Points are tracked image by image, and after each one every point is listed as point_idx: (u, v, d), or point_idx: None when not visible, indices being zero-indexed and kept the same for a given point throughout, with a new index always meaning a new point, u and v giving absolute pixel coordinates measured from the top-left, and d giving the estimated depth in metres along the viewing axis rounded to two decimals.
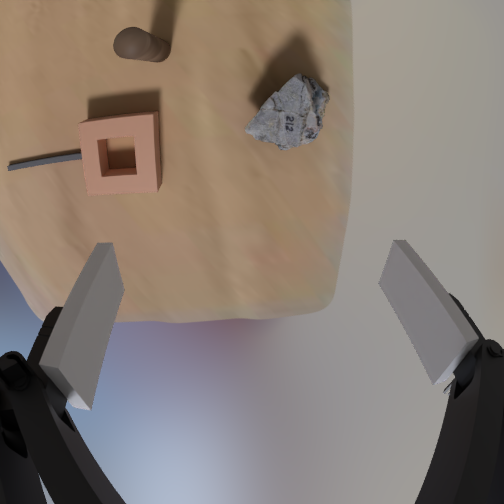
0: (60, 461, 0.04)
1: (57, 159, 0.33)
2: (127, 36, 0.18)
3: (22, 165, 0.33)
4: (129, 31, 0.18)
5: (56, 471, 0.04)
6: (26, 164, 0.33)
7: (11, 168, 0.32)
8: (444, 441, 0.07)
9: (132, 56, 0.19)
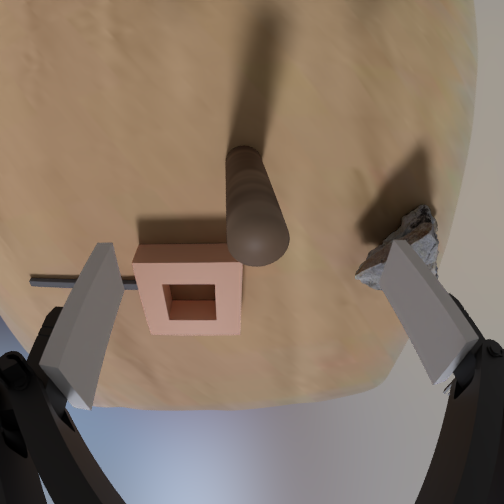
0: (60, 461, 0.04)
1: None
2: (254, 230, 0.14)
3: (50, 284, 0.29)
4: (258, 221, 0.14)
5: (56, 471, 0.04)
6: (55, 284, 0.29)
7: (35, 284, 0.29)
8: (444, 441, 0.07)
9: (262, 264, 0.15)
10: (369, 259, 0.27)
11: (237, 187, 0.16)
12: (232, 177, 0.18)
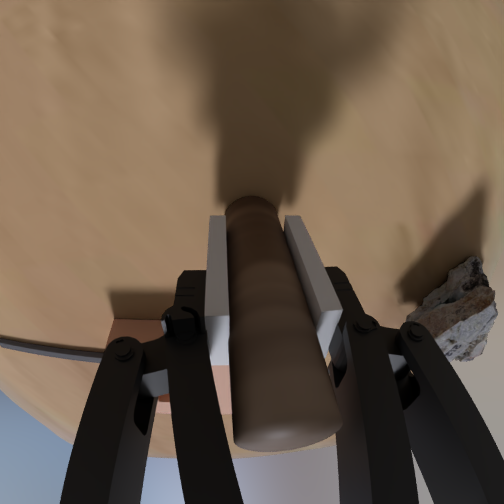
0: (206, 425, 0.06)
1: (75, 357, 0.22)
2: (284, 429, 0.07)
3: (20, 349, 0.21)
4: (293, 422, 0.06)
5: (197, 433, 0.06)
6: (26, 349, 0.21)
7: (5, 346, 0.21)
8: (341, 439, 0.07)
9: (291, 448, 0.08)
10: None
11: (248, 314, 0.09)
12: (236, 275, 0.11)
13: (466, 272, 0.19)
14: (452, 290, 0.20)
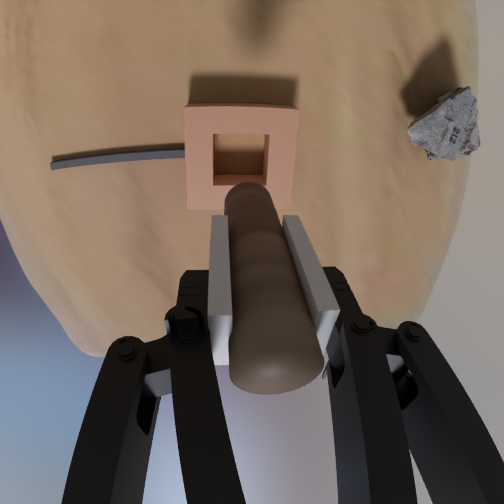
0: (209, 424, 0.06)
1: (135, 156, 0.27)
2: (273, 362, 0.08)
3: (74, 163, 0.26)
4: (280, 352, 0.08)
5: (200, 433, 0.06)
6: (81, 161, 0.26)
7: (56, 166, 0.26)
8: (339, 439, 0.07)
9: (281, 391, 0.10)
10: (418, 118, 0.24)
11: (243, 270, 0.11)
12: (234, 243, 0.13)
13: (449, 93, 0.24)
14: (442, 103, 0.24)
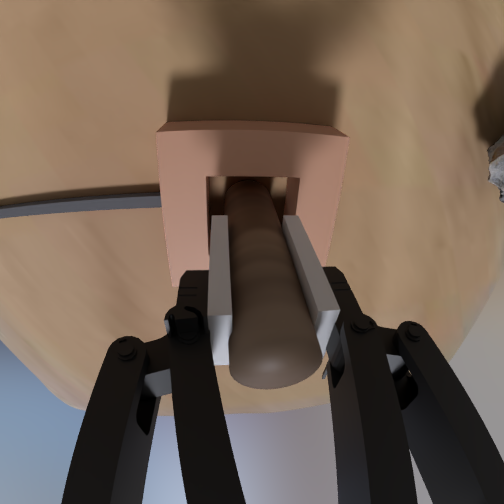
0: (209, 424, 0.06)
1: (92, 204, 0.18)
2: (272, 356, 0.09)
3: (17, 211, 0.17)
4: (279, 346, 0.08)
5: (199, 433, 0.06)
6: (25, 209, 0.17)
7: None
8: (339, 439, 0.07)
9: (280, 386, 0.10)
10: (499, 147, 0.15)
11: (243, 267, 0.11)
12: (234, 240, 0.13)
13: None
14: None
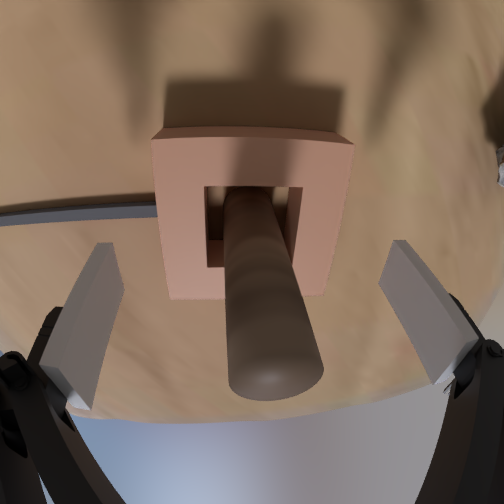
0: (60, 461, 0.04)
1: (86, 214, 0.17)
2: (272, 369, 0.08)
3: (10, 220, 0.16)
4: (279, 360, 0.08)
5: (56, 471, 0.04)
6: (18, 218, 0.16)
7: None
8: (444, 441, 0.07)
9: (280, 397, 0.09)
10: None
11: (242, 277, 0.11)
12: (233, 248, 0.13)
13: None
14: None
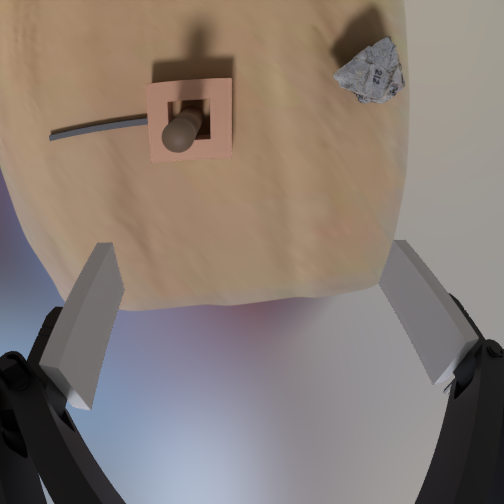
0: (60, 461, 0.04)
1: (113, 125, 0.33)
2: (175, 130, 0.24)
3: (67, 134, 0.32)
4: (176, 125, 0.24)
5: (56, 471, 0.04)
6: (73, 132, 0.32)
7: (54, 137, 0.32)
8: (444, 441, 0.07)
9: (181, 151, 0.25)
10: None
11: (174, 118, 0.27)
12: (175, 117, 0.29)
13: None
14: None
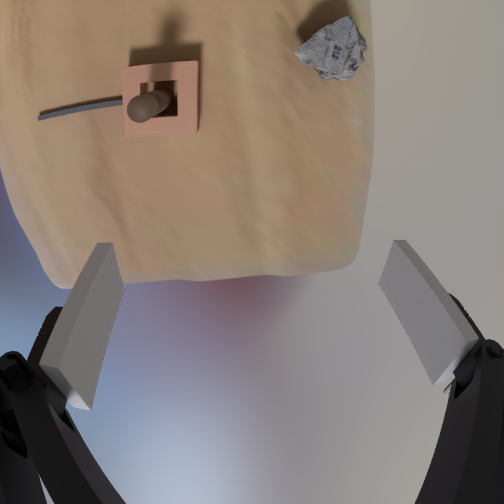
0: (60, 461, 0.04)
1: (93, 106, 0.34)
2: (138, 103, 0.25)
3: (54, 114, 0.33)
4: (139, 98, 0.25)
5: (56, 471, 0.04)
6: (59, 112, 0.33)
7: (42, 117, 0.33)
8: (444, 441, 0.07)
9: (143, 121, 0.27)
10: None
11: None
12: None
13: None
14: None
